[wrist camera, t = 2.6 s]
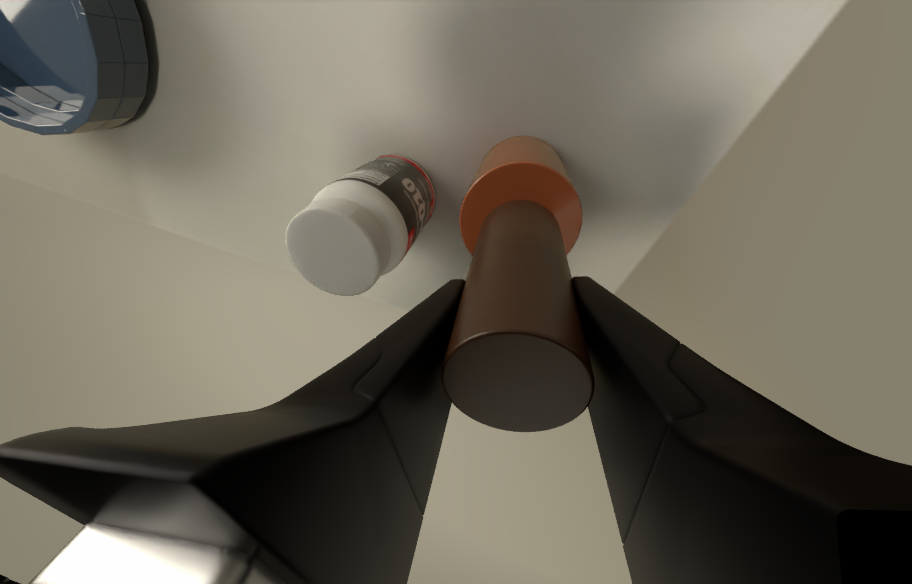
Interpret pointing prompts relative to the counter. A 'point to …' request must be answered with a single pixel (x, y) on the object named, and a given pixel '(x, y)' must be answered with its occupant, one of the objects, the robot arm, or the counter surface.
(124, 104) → the bowl
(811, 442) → the robot arm
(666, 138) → the counter surface
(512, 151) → the orange cylinder cap
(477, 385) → the brown cylinder
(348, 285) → the pill bottle
